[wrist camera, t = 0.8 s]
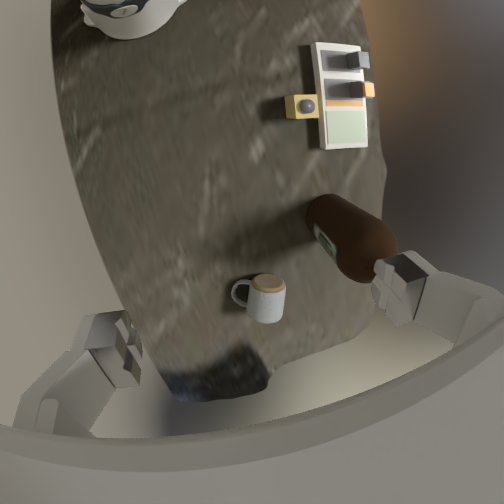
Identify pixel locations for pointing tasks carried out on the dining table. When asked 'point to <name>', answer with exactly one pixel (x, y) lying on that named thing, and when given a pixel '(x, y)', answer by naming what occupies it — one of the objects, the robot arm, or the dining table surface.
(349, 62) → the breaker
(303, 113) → the tan block with knob
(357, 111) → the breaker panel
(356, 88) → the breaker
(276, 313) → the ceramic mug
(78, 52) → the dining table surface
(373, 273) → the olive oil
